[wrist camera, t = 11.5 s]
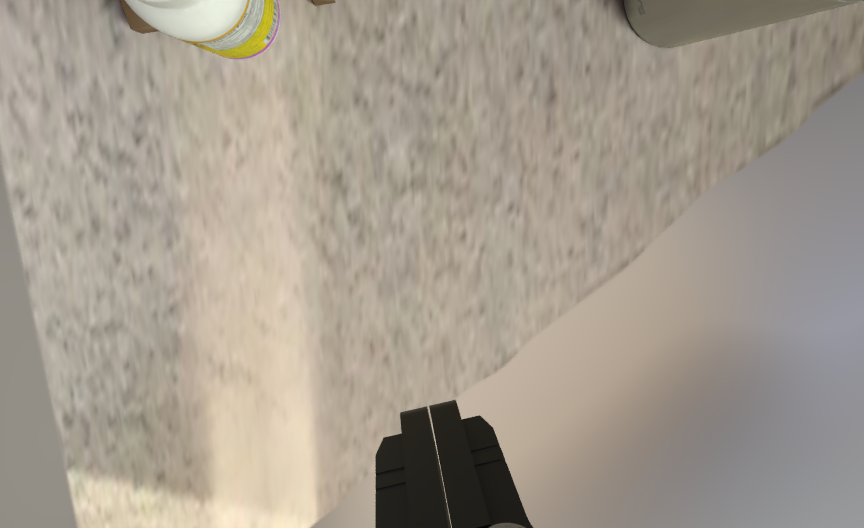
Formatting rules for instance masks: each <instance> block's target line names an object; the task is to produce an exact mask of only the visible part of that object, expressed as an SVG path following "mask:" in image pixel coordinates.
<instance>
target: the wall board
mask: <svg viewBox="0 0 864 528" xmlns="http://www.w3.org/2000/svg"><path fill="white" fill-rule="evenodd" d="M312 1H313V2H314V4H315V6H317V5H323V4H329V3H335V0H312ZM120 2H121V4H122V7H123V10H124V12H125V15H126V18H127V20H128V23H129V26H130V28H131V29H132V30H134V31H137V32H140V33H142V34H143V33H149V32H156V31H159V30H157V29H155V28H154V27H152V26H151V25H149V24H148V23H146V22H145V21H144V20H143V19H142V18H140V17H139V16H138V15H137V14H136V13H135V12H134V11H133V10H132V9H131V8H130V6H129V5H128V4H127V3H126V1H125V0H120Z"/></svg>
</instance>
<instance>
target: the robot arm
mask: <svg viewBox="0 0 864 528" xmlns="http://www.w3.org/2000/svg"><path fill="white" fill-rule="evenodd" d="M862 1H864V0H624V7H625V10H626V14H627V17H628V20H629V22H630V24H631V25H632V27H633V29H634V30H635V32H636V33H637V34H638V35H639V36H640V37H641V38H642V39H644V40H645V41H647V42H648V43H649V44H652V45H655V46H658V47H666V48H672V47H677V46H682V45H686V44H690V43H694V42H698V41H703V40H707V39H712V38H716V37H720V36H724V35H728V34H732V33H736V32H740V31H744V30H748V29H752V28H756V27H761V26H765V25H769V24H773V23H777V22H781V21H785V20H789V19H793V18H797V17H801V16H805V15H809V14H814V13H818V12H822V11H826V10H830V9H834V8H838V7H842V6H846V5H850V4H854V3H858V2H862ZM429 407H430V413H431V418H432V423H433V428H434V434H435V439H436V445H437V450H438V455H439V460H440V465H441V471H442V476H441V471H440V465H439V460H438V456H437V451H436V446H435V441H434V437H433V432H432V428H431V422H430V418H429V413H428V409H427V407H422V408H418V409H414V410H409V411H405V412H401V413H400V418H401V430H402V434H398V435H393V436H389V437H385V438H383V441H382V443H381V445H380V447H379V449H378V451H377V454H376V528H451V525H452V528H533V527H532V525H531V524H530V522H529V520H528V518H527V516H526V514H525V511H524V508H523V506H522V503H521V501H520V498H519V495H518V492H517V490H516V487H515V485H514V482H513V479H512V477H511V474H510V471H509V469H508V466H507V464H506V462H505V458H504V456H503V453H502V450H501V448H500V446H499V443H498V440H497V437H496V435H495V432H494V430H493V427H491V426H490V425H489V424H488V423H487V422H486V421H485V420H484V419H483V418H482V417H481V416H475V417H471V418H467V419H462V420H461V417H460V413H459V409H458V406H457V403H456V400H453V401H448V402H444V403H439V404H435V405H431V406H429ZM442 477H443V481H442ZM443 482H444V487H445V492H444V487H443ZM445 493H446V498H447V503H446V498H445ZM447 504H448V508H447ZM448 509H449V514H450V519H451V525H450V520H449V514H448Z"/></svg>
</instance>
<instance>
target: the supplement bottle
mask: <svg viewBox="0 0 864 528" xmlns="http://www.w3.org/2000/svg"><path fill="white" fill-rule="evenodd" d="M125 1H126V3H127V4H128V5H129V6H130V8H131V9H132V10H133V11H134V12H135V13H136V14H137V15H138V16H139V17H140V18H142V19H143V20H144V21H145V22H146V23H148V24H149V25H151V26H152V27H154V28H155V29H157V30H159V31H161V32H163V33H165V34H167V35H169V36H171V37H174V38H177V39H180V40H182V41H185V42H187V43H190V44H192V45H195V46H197V47H200V48H203V49H205V50H207V51H210V52H212V53H215V54H218V55H220V56H223V57H226V58H230V59H236V60H245V59H251V58H254V57H257V56H259V55H261V54H262V53H264V52H265V51H266V50H267V49H269V47H270V46H271V45H272V44H273V42H274V41H275V39H276V37H277V35H278V32H279V28H280V21H281V11H280V5H279V0H125Z"/></svg>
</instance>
